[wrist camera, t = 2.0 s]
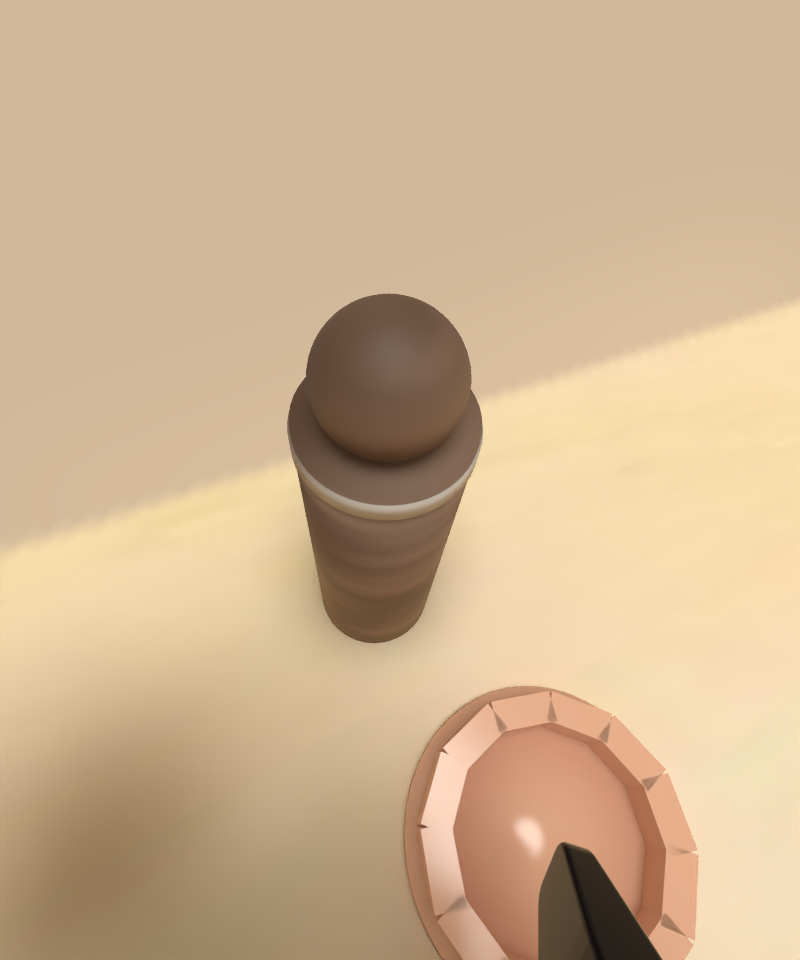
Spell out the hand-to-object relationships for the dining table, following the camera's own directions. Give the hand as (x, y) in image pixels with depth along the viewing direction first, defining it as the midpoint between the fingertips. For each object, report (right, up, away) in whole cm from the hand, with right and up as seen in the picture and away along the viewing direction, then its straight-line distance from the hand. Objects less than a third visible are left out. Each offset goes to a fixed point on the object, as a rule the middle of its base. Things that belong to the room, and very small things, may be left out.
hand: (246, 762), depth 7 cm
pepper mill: (+1, -1, +15) cm, 15 cm away
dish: (+7, -8, +11) cm, 15 cm away
